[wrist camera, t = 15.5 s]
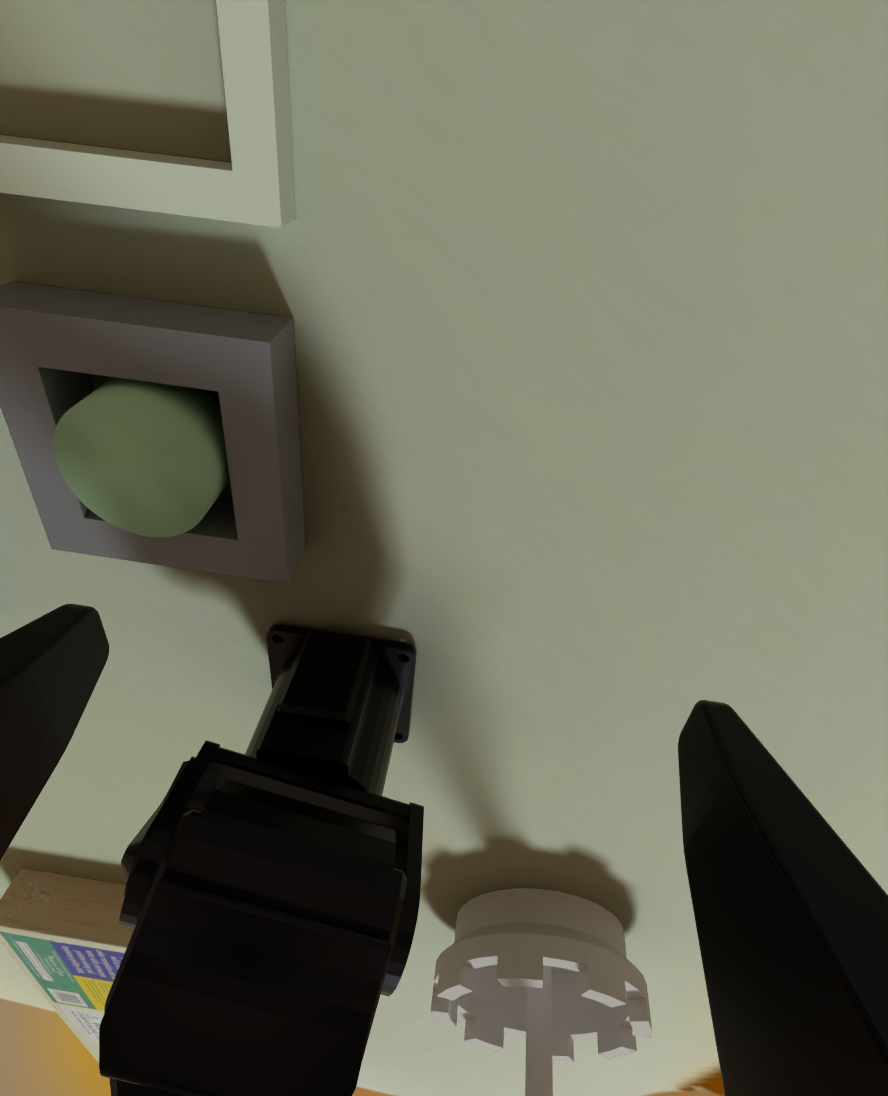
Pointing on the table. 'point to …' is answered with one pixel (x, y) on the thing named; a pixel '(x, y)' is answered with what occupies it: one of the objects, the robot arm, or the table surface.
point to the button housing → (175, 359)
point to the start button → (144, 455)
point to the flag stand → (541, 979)
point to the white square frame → (179, 182)
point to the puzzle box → (67, 943)
